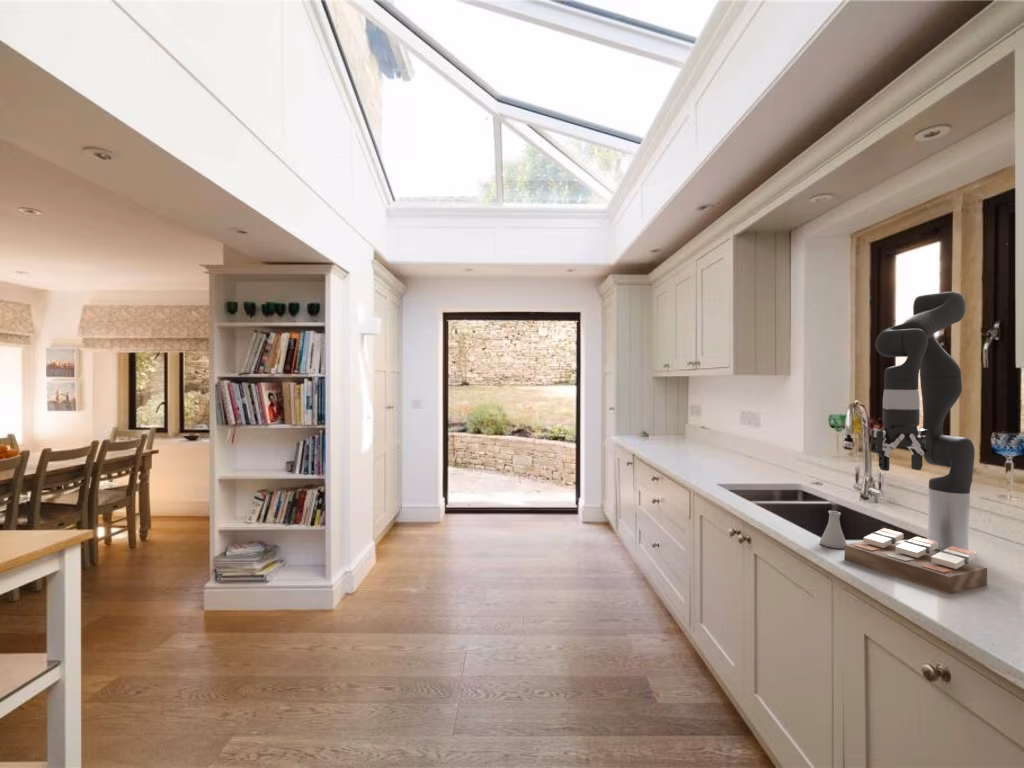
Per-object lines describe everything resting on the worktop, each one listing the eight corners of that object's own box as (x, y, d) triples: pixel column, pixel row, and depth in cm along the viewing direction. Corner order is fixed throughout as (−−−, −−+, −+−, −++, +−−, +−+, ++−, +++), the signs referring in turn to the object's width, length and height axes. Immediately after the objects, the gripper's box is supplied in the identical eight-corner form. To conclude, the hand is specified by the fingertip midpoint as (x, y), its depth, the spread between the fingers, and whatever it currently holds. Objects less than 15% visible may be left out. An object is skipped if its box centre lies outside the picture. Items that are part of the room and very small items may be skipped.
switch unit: (880, 552, 144) (881, 537, 144) (986, 584, 122) (987, 566, 122) (844, 559, 138) (844, 543, 138) (949, 594, 116) (950, 575, 116)
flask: (852, 550, 145) (853, 516, 145) (825, 548, 147) (825, 514, 147) (841, 542, 153) (842, 509, 152) (815, 540, 154) (816, 508, 154)
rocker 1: (883, 533, 142) (883, 527, 142) (904, 539, 138) (903, 532, 137) (863, 542, 139) (862, 536, 139) (883, 548, 134) (883, 542, 134)
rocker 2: (915, 542, 135) (915, 535, 135) (938, 548, 130) (938, 541, 130) (895, 552, 131) (894, 545, 131) (918, 558, 127) (917, 551, 127)
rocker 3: (951, 552, 128) (951, 545, 128) (977, 558, 123) (976, 551, 123) (931, 562, 124) (930, 555, 124) (956, 570, 119) (956, 562, 119)
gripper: (914, 405, 134) (914, 466, 134) (863, 406, 133) (862, 467, 133) (940, 407, 126) (939, 472, 127) (886, 408, 126) (885, 473, 126)
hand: (900, 469), depth 130 cm, fingers open, 8 cm apart
